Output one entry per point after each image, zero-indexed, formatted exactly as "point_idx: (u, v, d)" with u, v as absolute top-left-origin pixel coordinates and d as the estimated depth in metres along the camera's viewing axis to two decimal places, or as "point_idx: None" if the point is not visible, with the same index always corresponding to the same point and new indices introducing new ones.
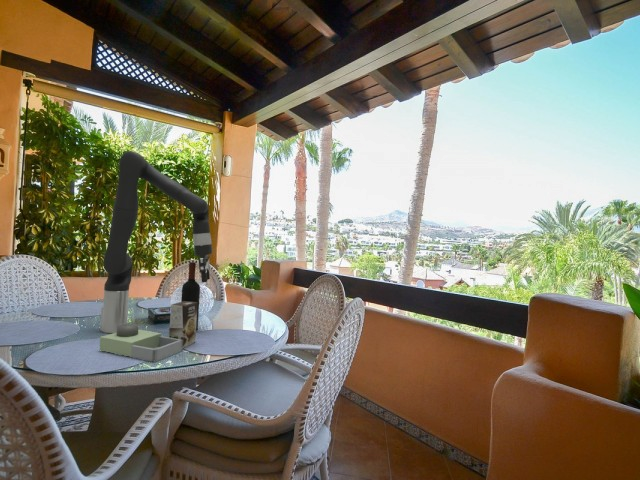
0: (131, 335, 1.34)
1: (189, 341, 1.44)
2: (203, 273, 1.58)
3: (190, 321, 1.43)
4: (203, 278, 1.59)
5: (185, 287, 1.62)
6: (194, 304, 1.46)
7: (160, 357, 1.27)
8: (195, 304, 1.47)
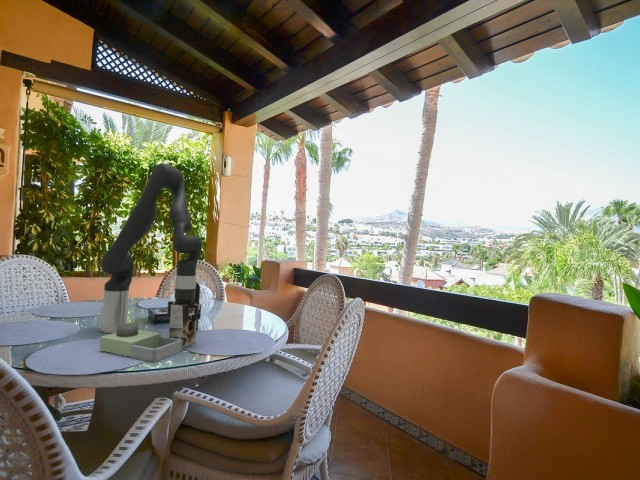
0: (131, 335, 1.34)
1: (190, 341, 1.44)
2: None
3: None
4: None
5: None
6: None
7: (160, 357, 1.27)
8: None
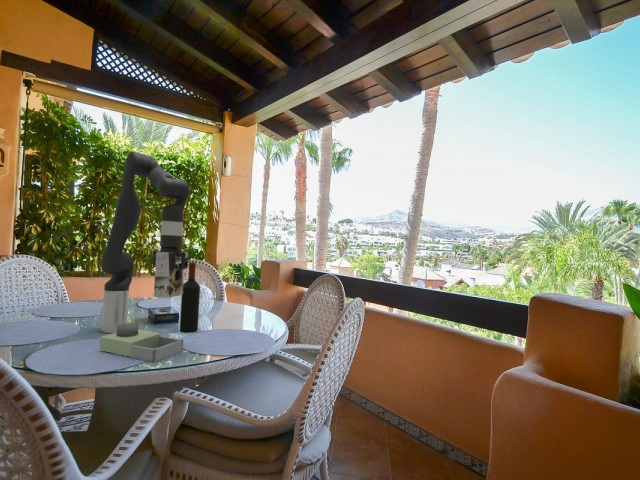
0: (131, 335, 1.34)
1: (177, 292, 1.35)
2: None
3: None
4: None
5: (185, 287, 1.62)
6: None
7: (160, 357, 1.27)
8: None
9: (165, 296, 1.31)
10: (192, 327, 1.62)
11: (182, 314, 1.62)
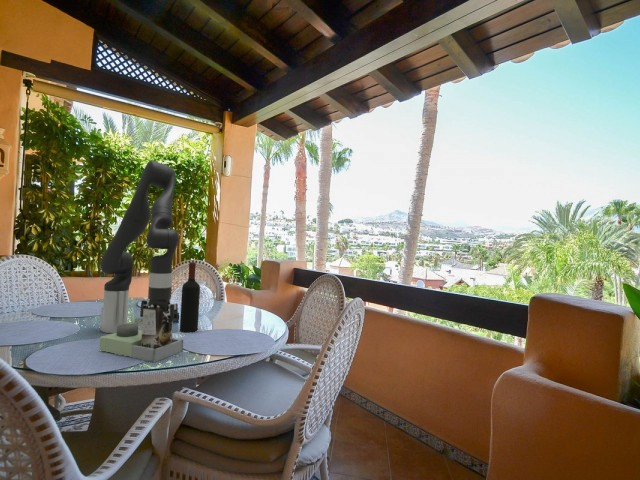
0: (131, 335, 1.34)
1: None
2: None
3: None
4: None
5: (185, 287, 1.62)
6: None
7: (160, 357, 1.27)
8: None
9: None
10: (192, 327, 1.62)
11: (182, 314, 1.62)
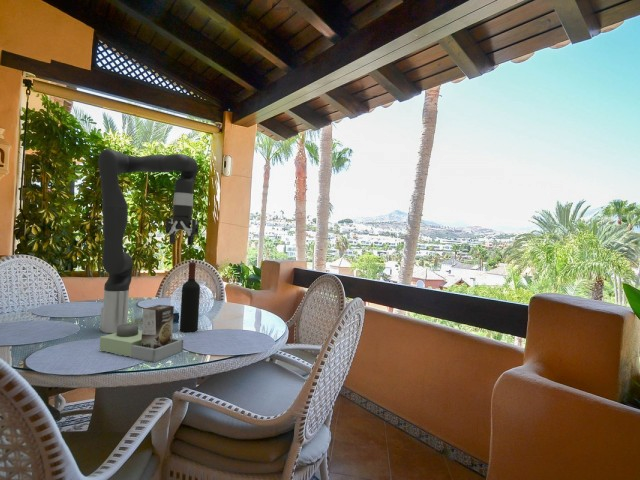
0: (131, 335, 1.34)
1: None
2: None
3: (165, 327, 1.31)
4: None
5: (185, 287, 1.62)
6: (170, 308, 1.34)
7: (160, 357, 1.27)
8: (171, 308, 1.35)
9: None
10: (192, 327, 1.62)
11: (182, 314, 1.62)
